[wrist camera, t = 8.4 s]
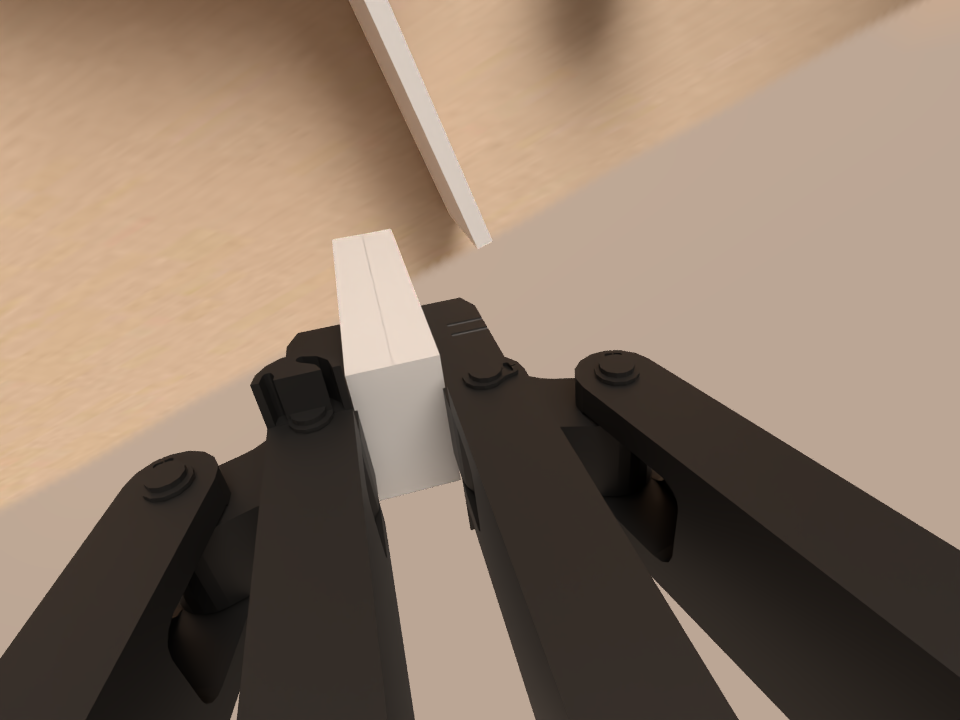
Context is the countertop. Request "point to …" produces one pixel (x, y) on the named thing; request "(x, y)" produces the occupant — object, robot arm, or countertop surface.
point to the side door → (420, 115)
